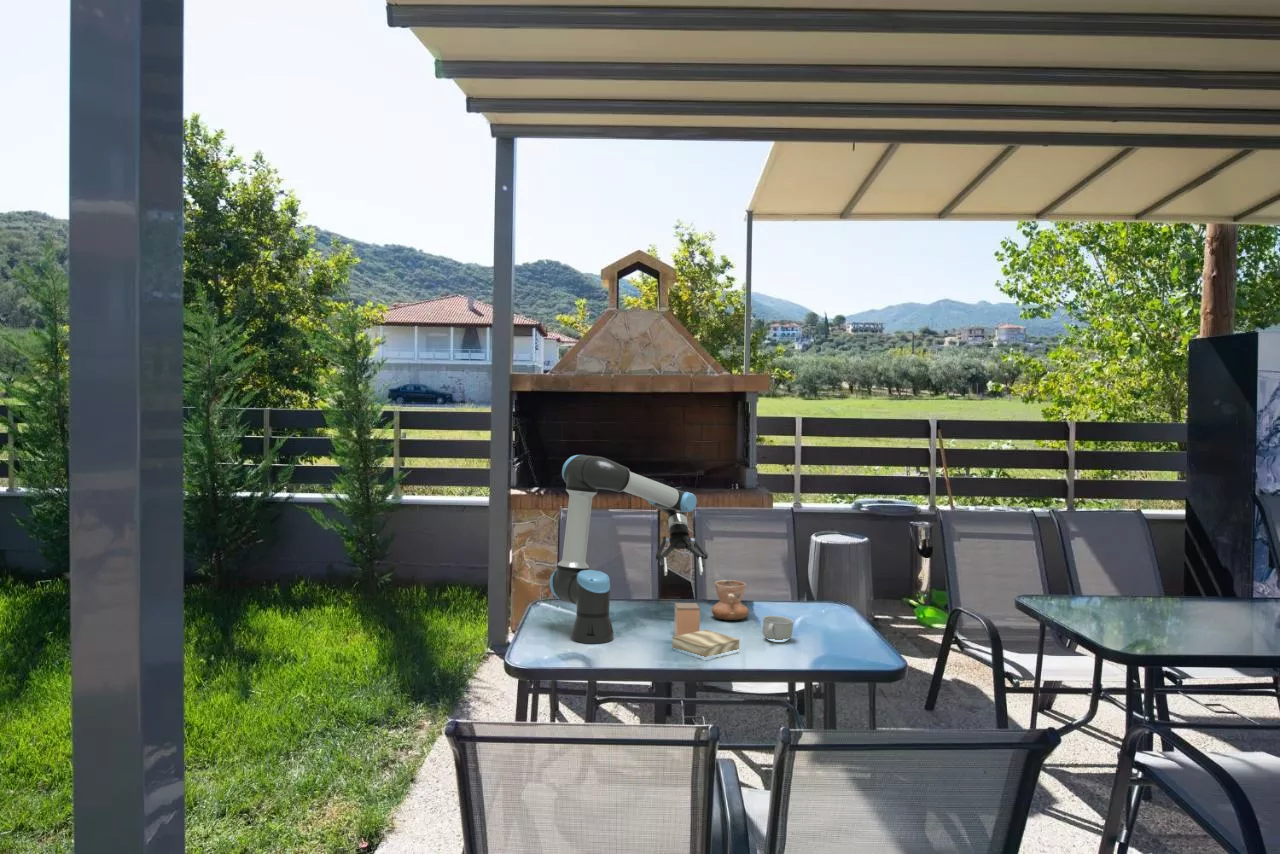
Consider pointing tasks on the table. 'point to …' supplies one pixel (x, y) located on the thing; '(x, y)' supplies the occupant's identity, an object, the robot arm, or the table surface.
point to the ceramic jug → (730, 600)
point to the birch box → (705, 643)
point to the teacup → (777, 627)
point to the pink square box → (686, 618)
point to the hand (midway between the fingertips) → (683, 573)
